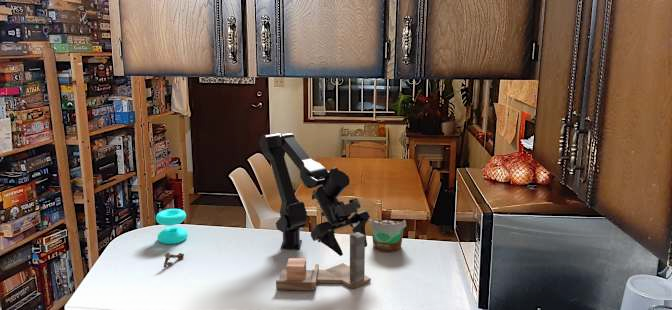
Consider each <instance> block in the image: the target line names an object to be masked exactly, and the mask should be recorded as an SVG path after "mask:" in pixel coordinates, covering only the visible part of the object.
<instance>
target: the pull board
mask: <svg viewBox="0 0 672 310" xmlns="http://www.w3.org/2000/svg"><path fill="white" fill-rule="evenodd" d="M365 254H366V247H365V235H363V234H361V233H359V232H357V233H354V232H353V233H351V234H349V265H348V264H345V263H344V262H342V263H339V264H337V265H334V266H331V267H330V268H329V267H328V268H327V269H319V268H320V265H319V264H320V263H316V264H315V265H314V269H311V270H309V269H308V270H307V269H306V278H305V280H287V269H281V273H280V275H279V279H276V281H275V288H276V290H280V291H281V290H282V291H283V290H284V291H285V290H286V291H289V290H290V291H313V290H317V289H316V288H317V283H318V284H319V283H320V284H323V283H324V284H328V283H329V284H343V285H345V286H346V287H348V288H350V289H351V290H354V289H356V288H358V287H361V286H364V285H365V284H368V283H370V282H371V280H372V279H371V277H369V276H367V275H365V272H366V271H365V264H366V261H365V260H366V255H365Z"/></svg>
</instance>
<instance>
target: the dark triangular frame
mask: <svg viewBox="0 0 672 310" xmlns="http://www.w3.org/2000/svg"><path fill="white" fill-rule="evenodd" d="M184 257H185V254H184V253H180V252H179V253H178V254H173V253H171V254H170V252H166V253H165V254H164V258H165V260H164V264H163V268H164V269H165V268H167V266H168V267H170V266H173V262H172V261H171V262H170V261H169V260H170V259H176V258H177V259H179V260H184Z"/></svg>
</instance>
